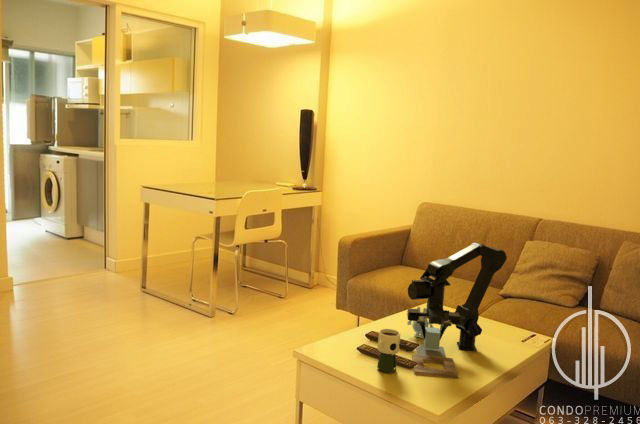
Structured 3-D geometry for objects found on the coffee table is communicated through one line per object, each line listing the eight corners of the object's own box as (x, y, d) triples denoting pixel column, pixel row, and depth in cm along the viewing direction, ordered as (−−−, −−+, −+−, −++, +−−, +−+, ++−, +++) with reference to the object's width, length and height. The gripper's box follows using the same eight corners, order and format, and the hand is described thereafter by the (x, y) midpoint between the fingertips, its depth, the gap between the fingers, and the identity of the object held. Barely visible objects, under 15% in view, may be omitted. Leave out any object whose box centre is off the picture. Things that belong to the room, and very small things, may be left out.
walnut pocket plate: (411, 356, 191) (412, 354, 191) (452, 360, 189) (452, 358, 189) (414, 373, 177) (414, 371, 177) (457, 378, 176) (458, 375, 176)
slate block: (424, 348, 193) (426, 331, 193) (423, 342, 198) (425, 327, 198) (439, 349, 193) (440, 333, 192) (437, 344, 198) (439, 328, 197)
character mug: (386, 378, 173) (389, 339, 171) (368, 371, 177) (371, 333, 175) (404, 368, 181) (407, 331, 179) (386, 361, 185) (389, 325, 183)
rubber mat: (415, 345, 201) (415, 344, 201) (442, 348, 200) (443, 346, 200) (417, 356, 192) (417, 354, 192) (446, 359, 191) (446, 357, 191)
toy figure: (403, 336, 210) (406, 306, 208) (408, 331, 215) (411, 302, 213) (430, 342, 205) (433, 312, 203) (434, 337, 210) (437, 308, 209)
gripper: (410, 302, 186) (406, 345, 188) (465, 306, 184) (461, 350, 186) (408, 292, 197) (405, 333, 199) (461, 297, 195) (457, 338, 197)
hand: (431, 339), depth 195 cm, fingers closed on slate block, 5 cm apart
